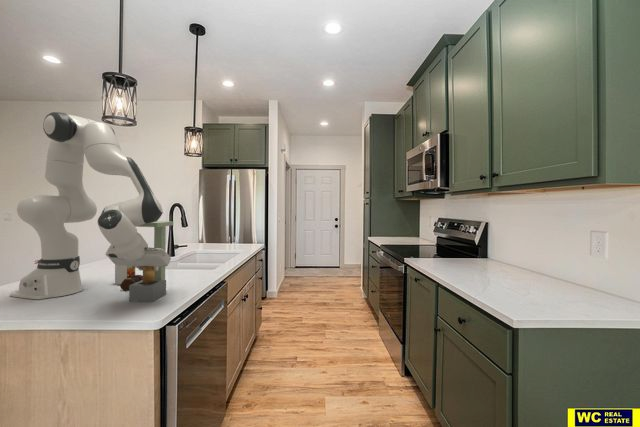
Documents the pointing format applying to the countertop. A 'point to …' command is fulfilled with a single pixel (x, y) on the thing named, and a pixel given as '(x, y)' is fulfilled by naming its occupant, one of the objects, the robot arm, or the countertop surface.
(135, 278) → the bolt
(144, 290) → the socket
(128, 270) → the milk bottle
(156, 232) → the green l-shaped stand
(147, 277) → the peg
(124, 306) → the countertop surface
